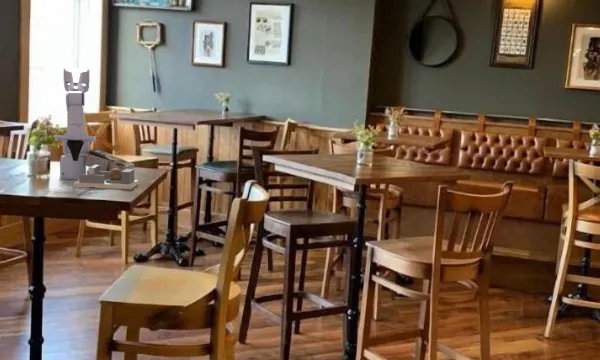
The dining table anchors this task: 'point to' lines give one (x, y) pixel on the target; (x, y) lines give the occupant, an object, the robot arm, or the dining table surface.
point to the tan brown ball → (115, 174)
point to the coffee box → (107, 161)
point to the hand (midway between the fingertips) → (75, 160)
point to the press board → (107, 180)
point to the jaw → (94, 170)
